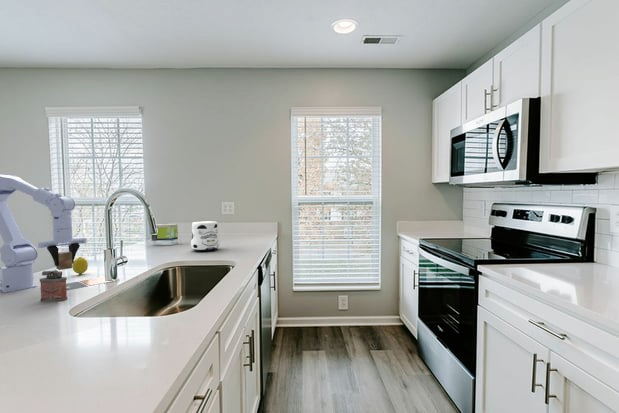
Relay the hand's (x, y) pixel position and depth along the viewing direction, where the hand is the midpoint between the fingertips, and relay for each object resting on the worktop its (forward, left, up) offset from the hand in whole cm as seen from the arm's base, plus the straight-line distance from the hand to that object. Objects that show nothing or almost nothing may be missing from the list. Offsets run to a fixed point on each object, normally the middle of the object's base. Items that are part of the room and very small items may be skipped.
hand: (64, 264), depth 122 cm
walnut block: (0, 0, -2) cm, 2 cm away
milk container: (+82, +31, -9) cm, 88 cm away
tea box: (+81, +80, -9) cm, 114 cm away
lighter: (-7, -16, -9) cm, 20 cm away
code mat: (0, 0, -9) cm, 9 cm away
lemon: (+11, +20, -9) cm, 24 cm away
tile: (+11, 0, -9) cm, 14 cm away
